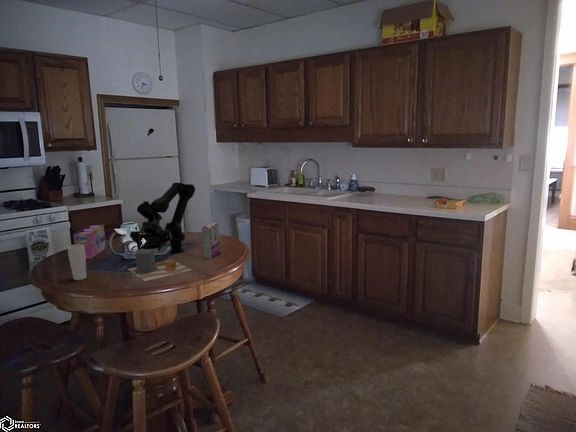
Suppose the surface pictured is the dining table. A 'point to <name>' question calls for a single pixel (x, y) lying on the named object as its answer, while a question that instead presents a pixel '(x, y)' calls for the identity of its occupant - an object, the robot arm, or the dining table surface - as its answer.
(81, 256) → the drinking glass
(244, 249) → the dining table surface
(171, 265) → the orange block
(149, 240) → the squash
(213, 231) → the candy bar box
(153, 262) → the charcoal cover
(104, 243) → the gum box
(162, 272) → the birch board
